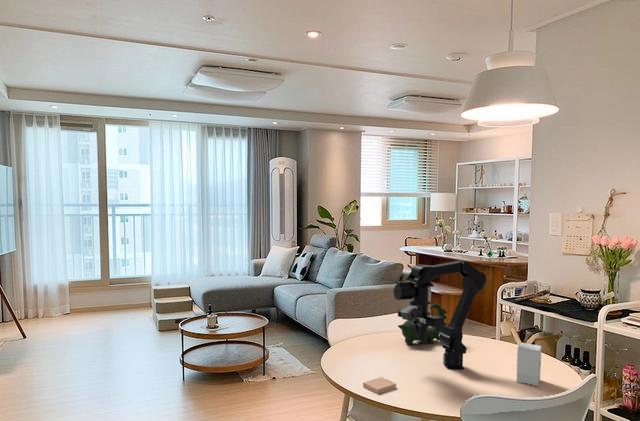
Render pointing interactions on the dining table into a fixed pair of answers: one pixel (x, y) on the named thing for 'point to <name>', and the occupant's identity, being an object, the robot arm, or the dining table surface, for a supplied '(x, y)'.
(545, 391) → the dining table surface
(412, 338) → the toy figurine
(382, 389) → the tile
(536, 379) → the supplement box
